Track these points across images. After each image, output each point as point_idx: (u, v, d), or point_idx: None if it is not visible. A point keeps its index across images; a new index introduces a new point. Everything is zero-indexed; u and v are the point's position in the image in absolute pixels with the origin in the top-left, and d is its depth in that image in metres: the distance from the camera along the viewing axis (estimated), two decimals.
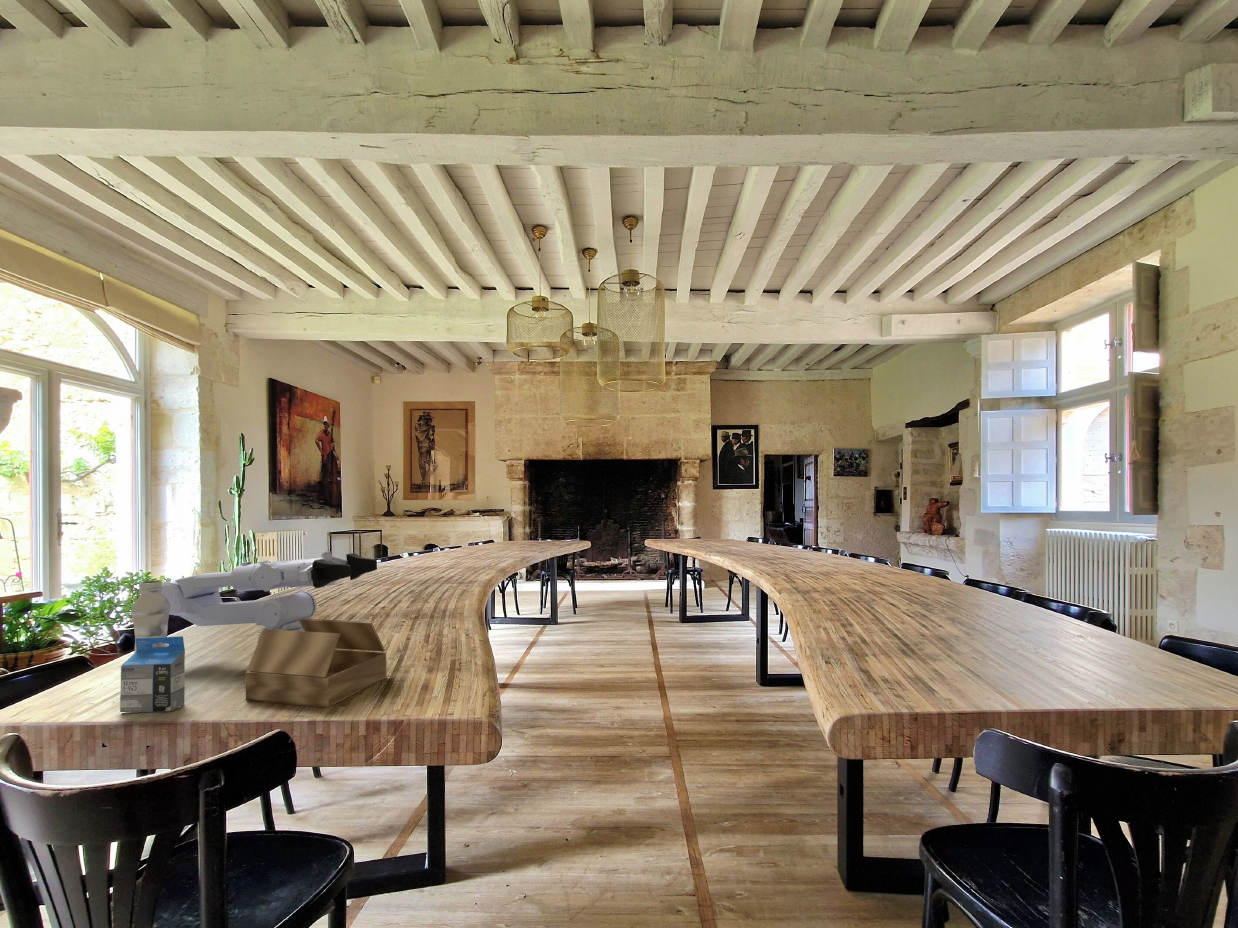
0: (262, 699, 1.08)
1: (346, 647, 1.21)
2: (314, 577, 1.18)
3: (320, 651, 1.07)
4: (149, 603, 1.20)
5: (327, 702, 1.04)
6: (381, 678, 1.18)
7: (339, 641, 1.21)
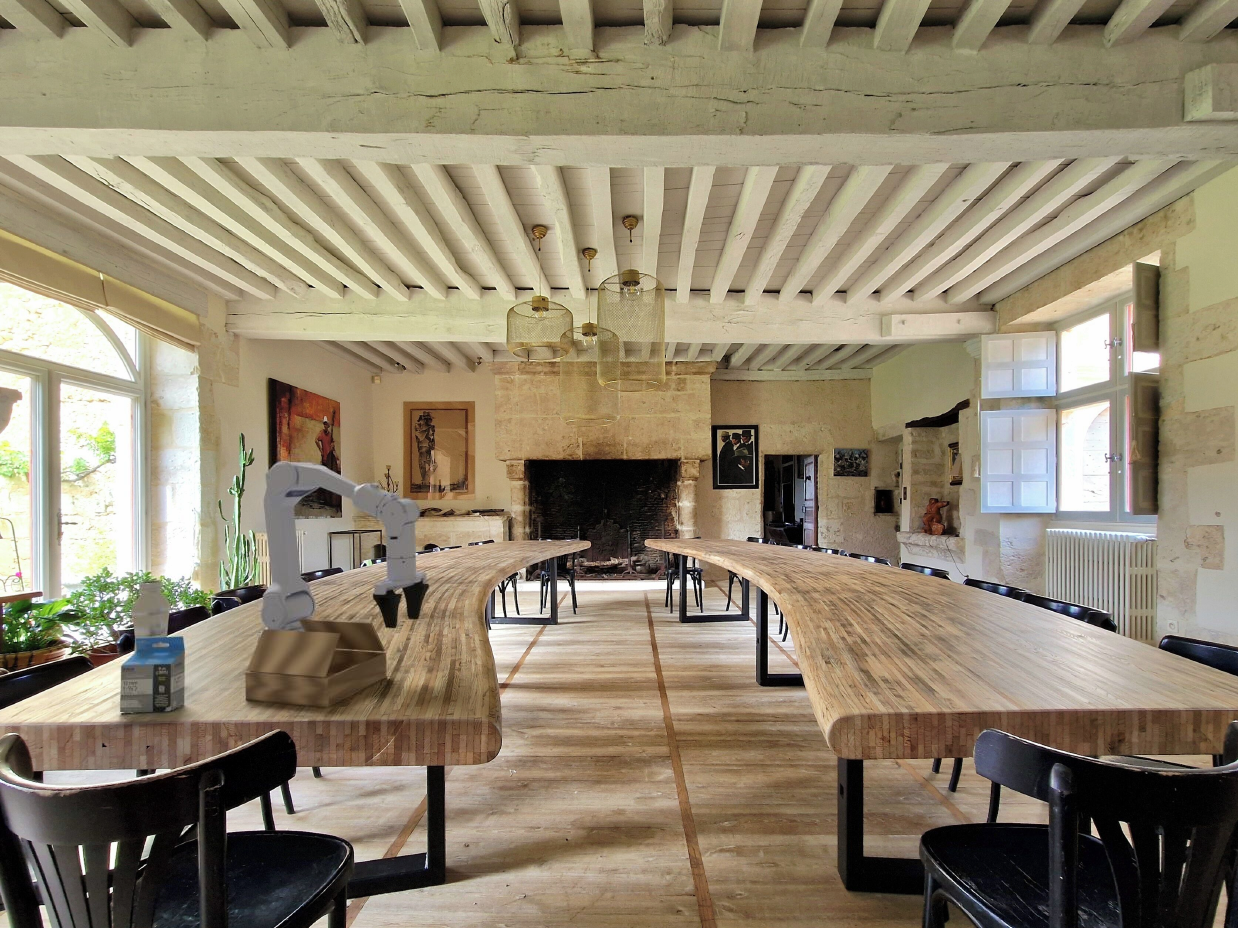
0: (262, 699, 1.08)
1: (346, 647, 1.21)
2: (380, 596, 1.18)
3: (320, 651, 1.07)
4: (149, 603, 1.20)
5: (327, 702, 1.04)
6: (381, 678, 1.18)
7: (339, 641, 1.21)
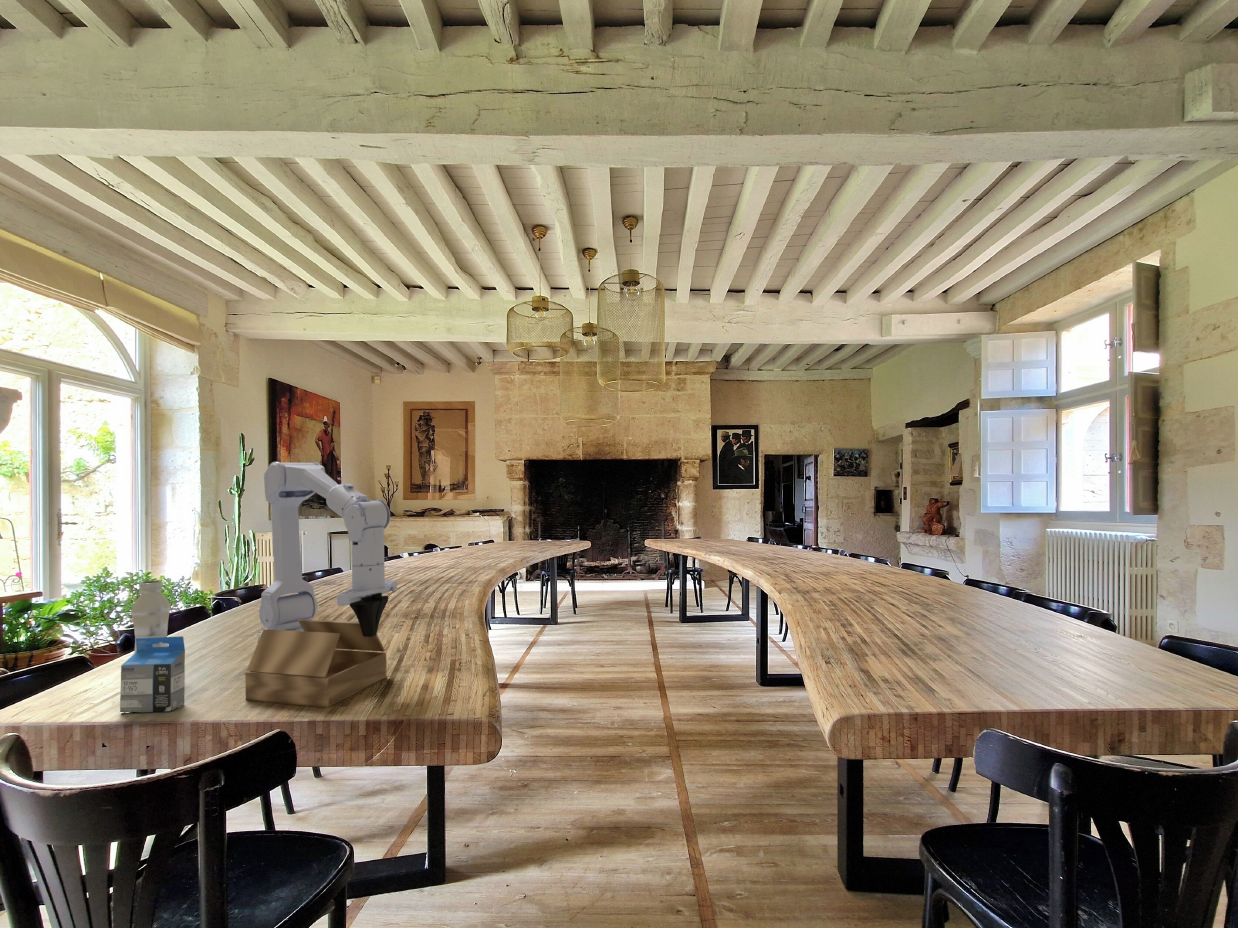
0: (262, 699, 1.08)
1: (346, 647, 1.21)
2: (357, 603, 1.11)
3: (320, 651, 1.07)
4: (149, 603, 1.20)
5: (327, 702, 1.04)
6: (381, 678, 1.18)
7: (338, 641, 1.21)
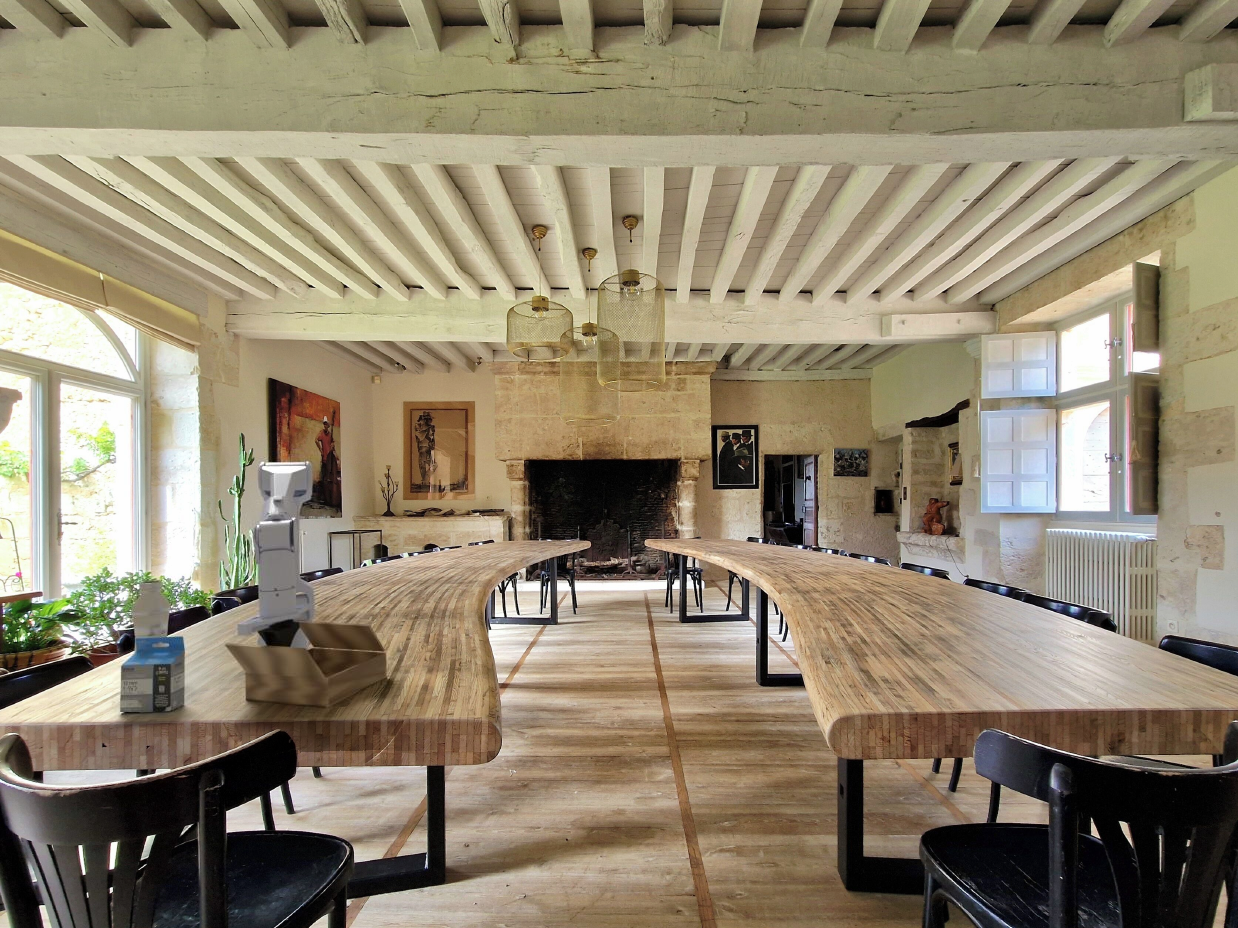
0: (262, 699, 1.08)
1: (346, 647, 1.21)
2: (265, 630, 1.03)
3: (300, 662, 1.02)
4: (149, 603, 1.20)
5: (327, 702, 1.04)
6: (381, 678, 1.18)
7: (338, 642, 1.21)
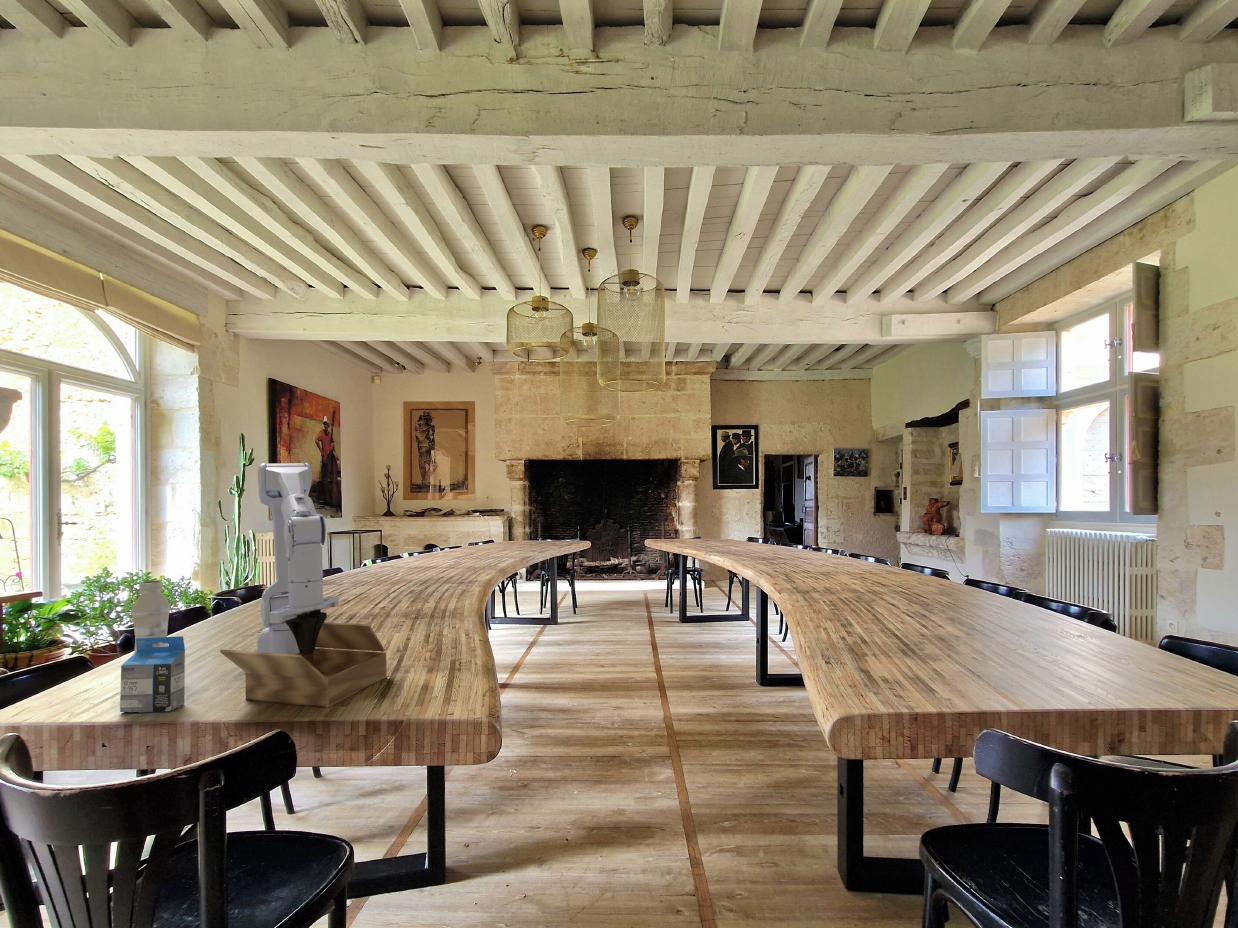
0: (262, 699, 1.08)
1: (346, 647, 1.21)
2: (292, 620, 1.09)
3: (298, 666, 1.02)
4: (149, 603, 1.20)
5: (327, 702, 1.04)
6: (381, 678, 1.18)
7: (338, 642, 1.21)
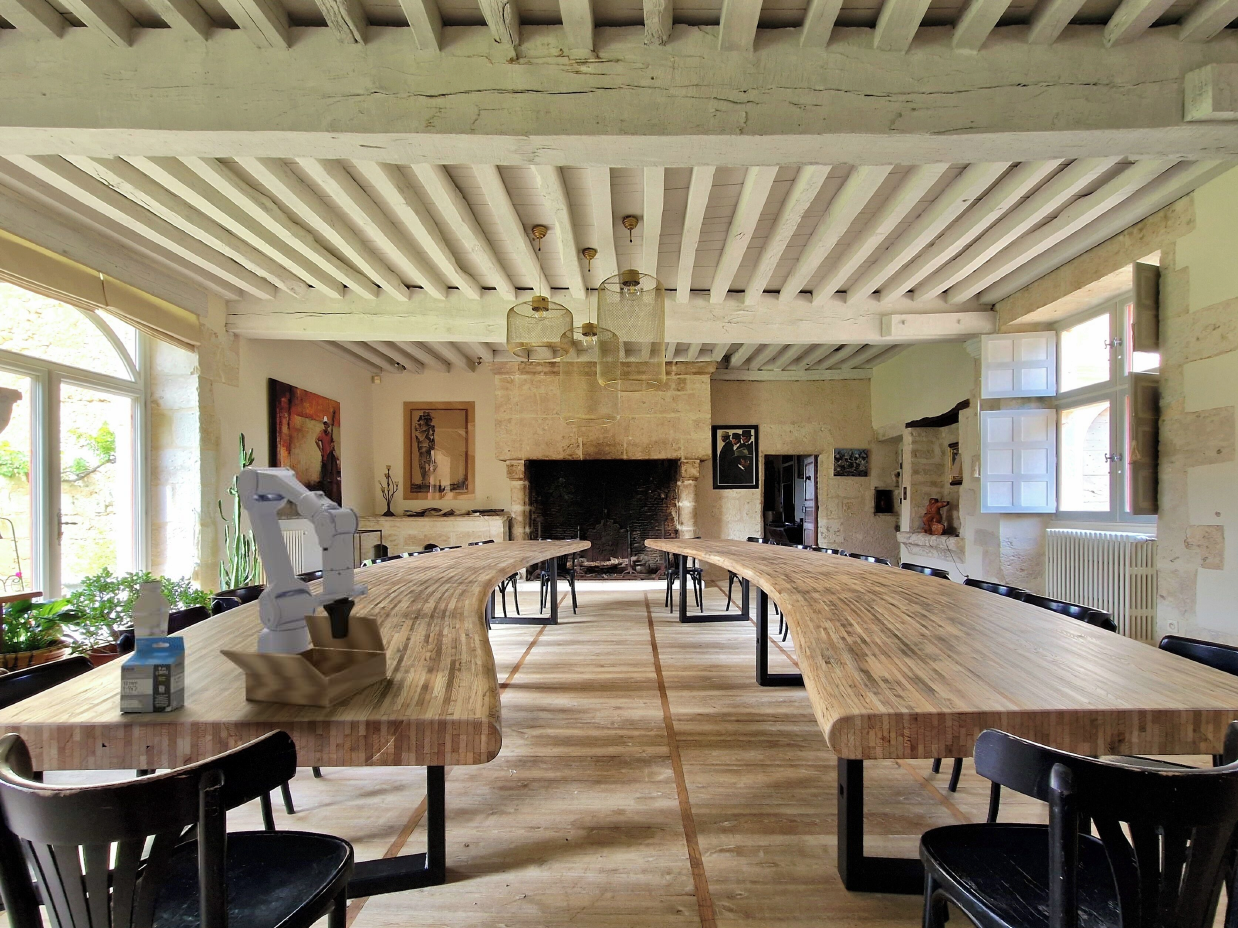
0: (262, 699, 1.08)
1: (346, 647, 1.22)
2: (330, 605, 1.18)
3: (298, 666, 1.02)
4: (149, 603, 1.20)
5: (327, 702, 1.04)
6: (381, 678, 1.18)
7: (340, 640, 1.21)
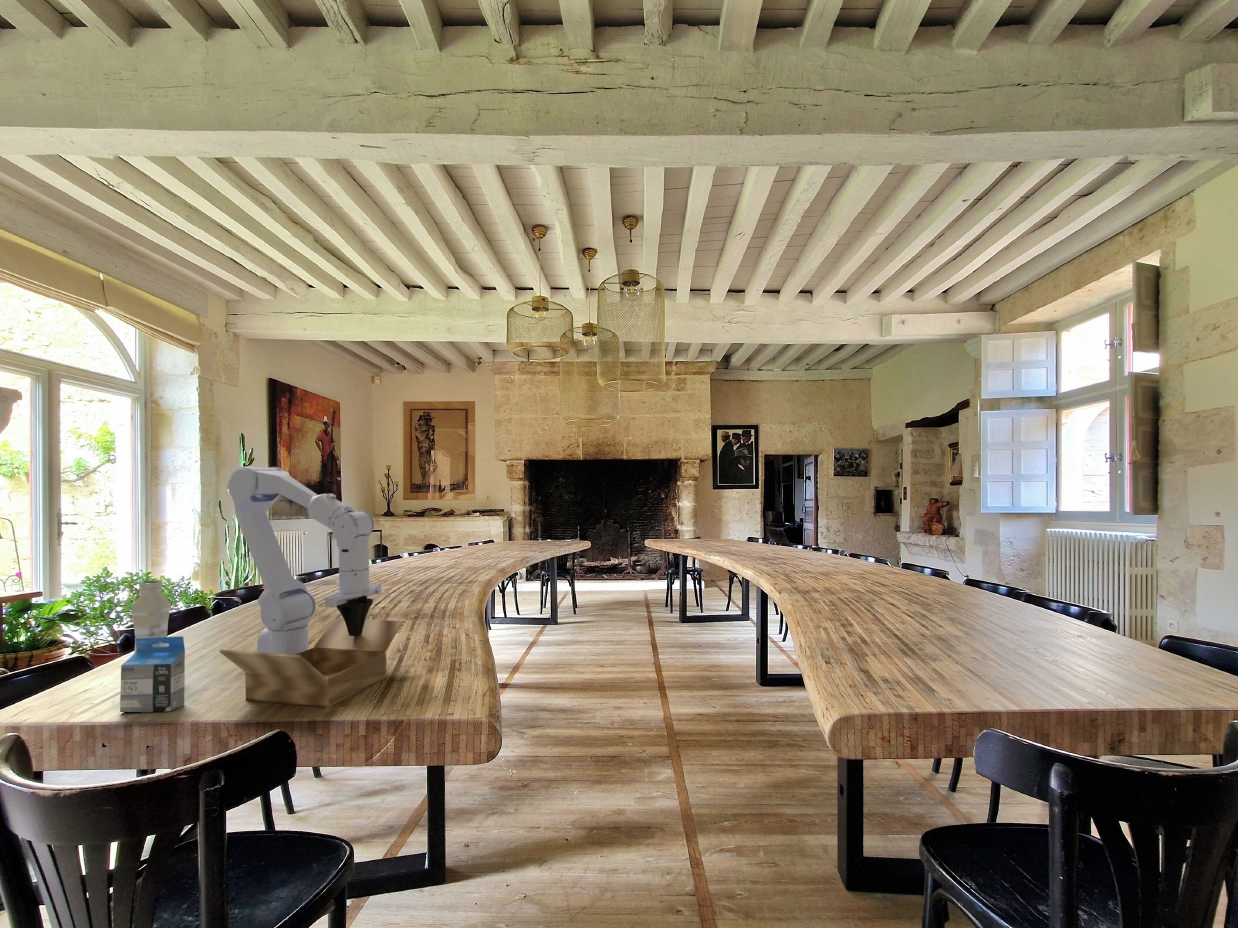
0: (262, 699, 1.08)
1: (348, 647, 1.22)
2: (343, 605, 1.22)
3: (298, 666, 1.02)
4: (149, 603, 1.20)
5: (327, 702, 1.04)
6: (381, 678, 1.18)
7: (348, 640, 1.24)
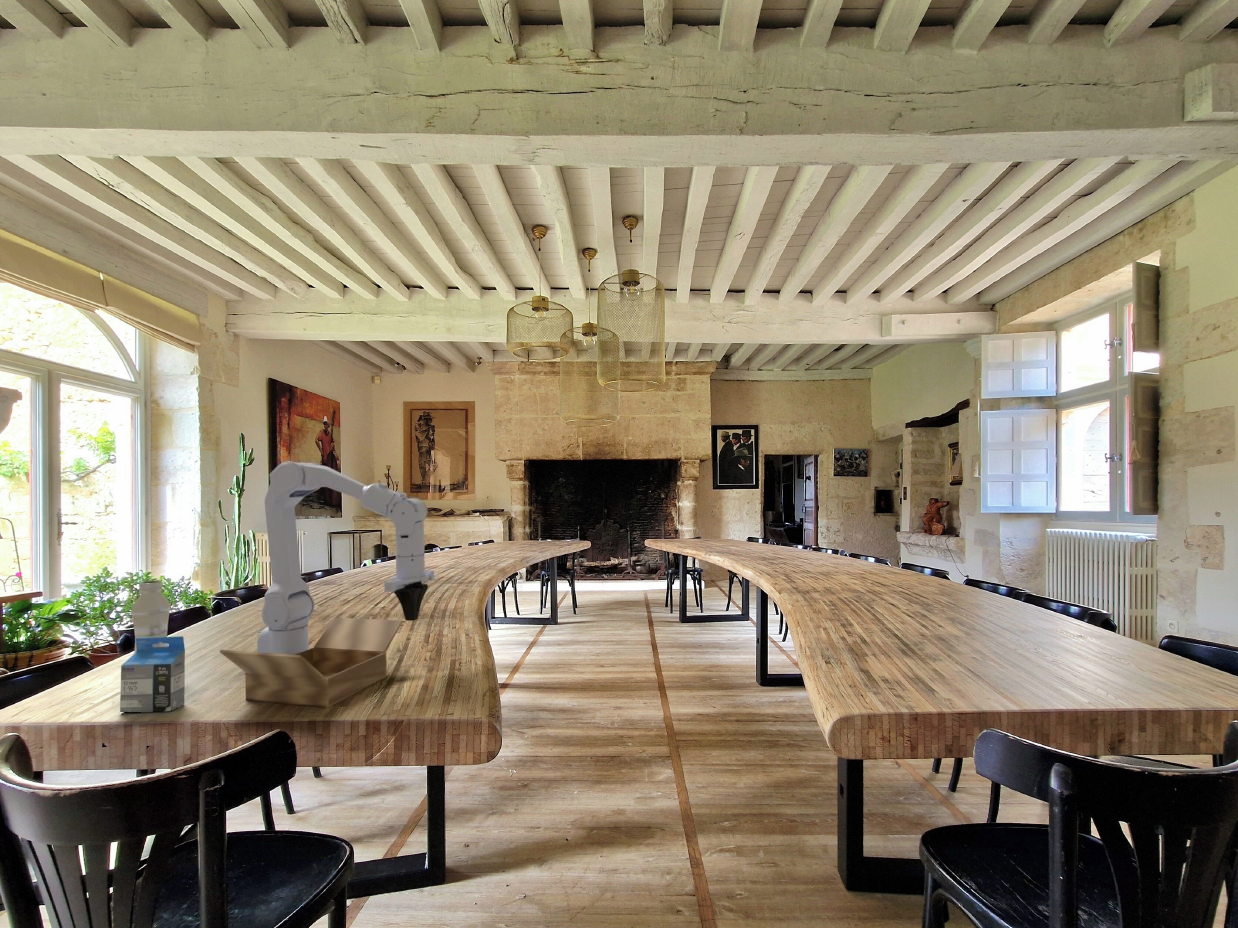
0: (262, 699, 1.08)
1: (348, 647, 1.22)
2: (400, 590, 1.24)
3: (298, 666, 1.02)
4: (149, 603, 1.20)
5: (327, 702, 1.04)
6: (381, 678, 1.18)
7: (348, 640, 1.24)
